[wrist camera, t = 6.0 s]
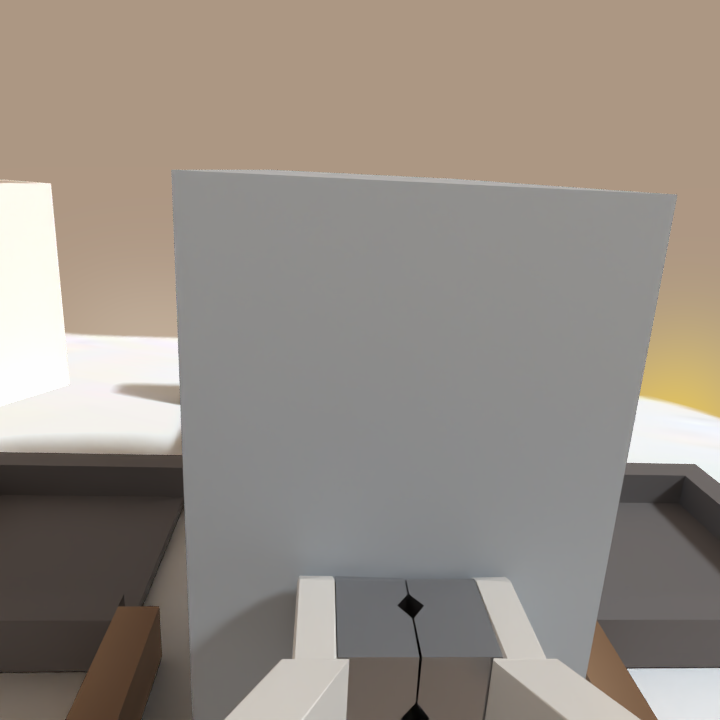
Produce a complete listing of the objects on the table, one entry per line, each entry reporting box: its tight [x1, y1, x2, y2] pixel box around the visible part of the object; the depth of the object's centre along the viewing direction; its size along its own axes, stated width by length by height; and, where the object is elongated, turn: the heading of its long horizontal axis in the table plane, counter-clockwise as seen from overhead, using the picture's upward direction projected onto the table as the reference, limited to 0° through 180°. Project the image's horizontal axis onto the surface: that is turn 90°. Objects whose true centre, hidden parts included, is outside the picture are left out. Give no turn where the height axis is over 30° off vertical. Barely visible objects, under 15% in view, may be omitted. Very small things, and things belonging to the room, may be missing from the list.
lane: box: [66, 606, 658, 720], centre depth 21 cm, size 16×27×4 cm, turn 3°
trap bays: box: [0, 452, 720, 672], centre depth 20 cm, size 28×9×2 cm, turn 93°
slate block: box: [172, 170, 677, 720], centre depth 16 cm, size 6×14×12 cm, turn 3°
